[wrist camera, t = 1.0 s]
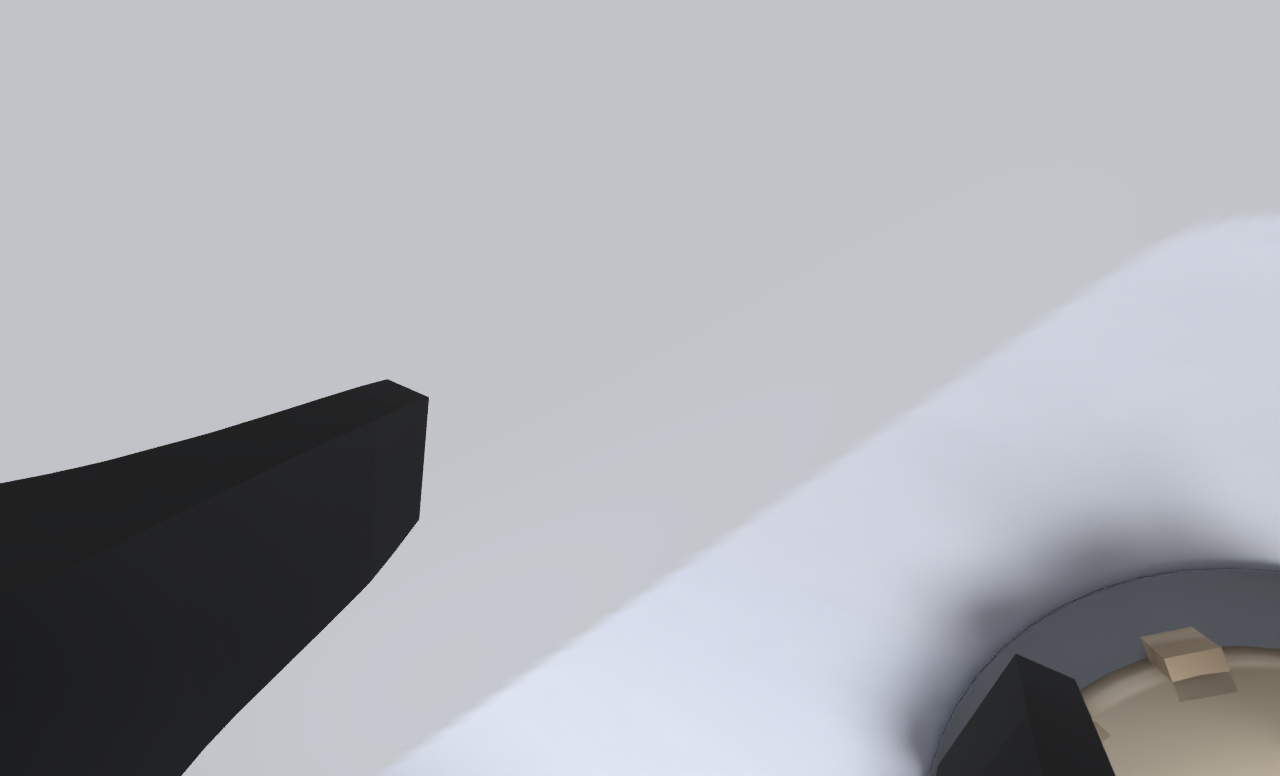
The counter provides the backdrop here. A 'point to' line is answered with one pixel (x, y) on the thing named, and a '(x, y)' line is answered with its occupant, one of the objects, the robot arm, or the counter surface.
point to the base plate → (1134, 628)
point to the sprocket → (1190, 709)
